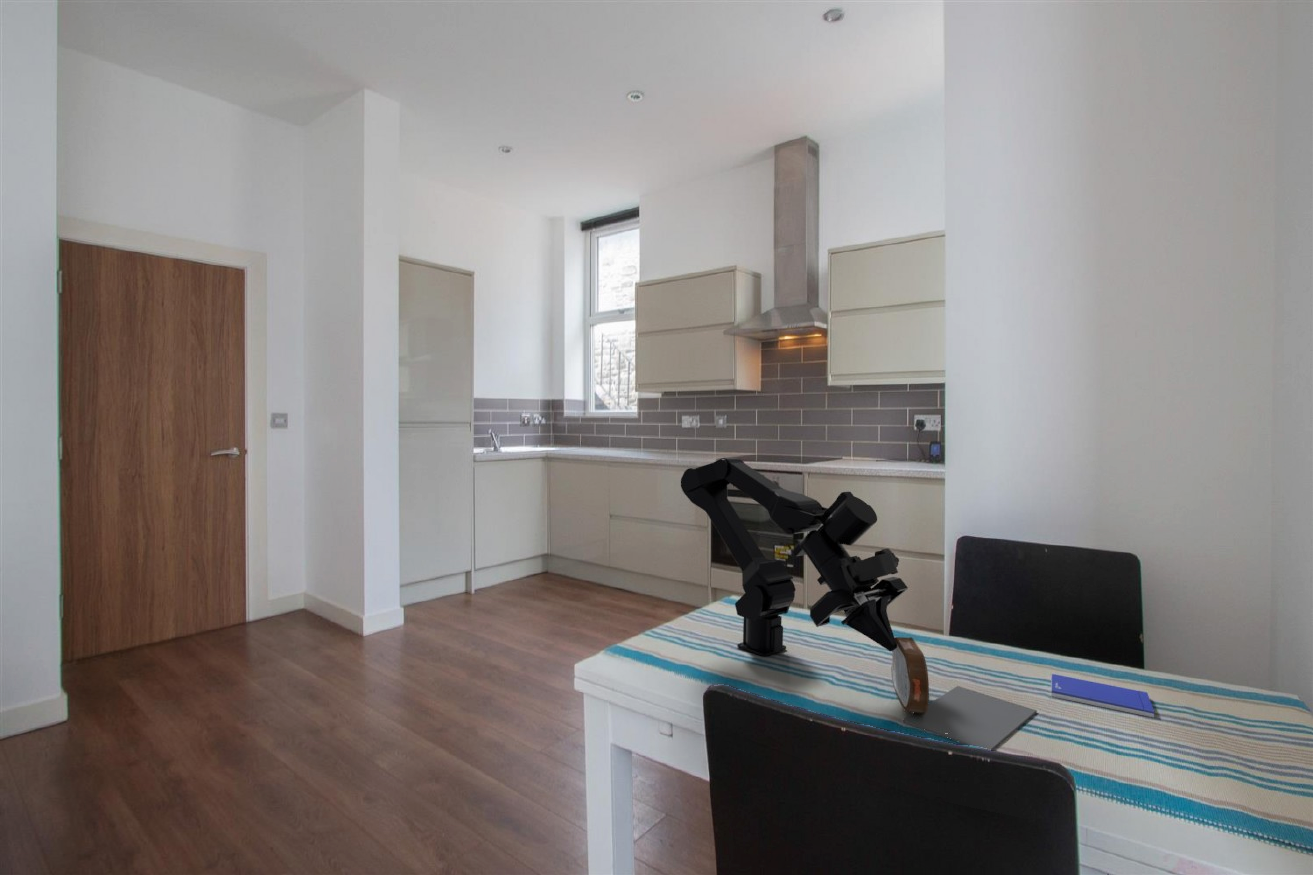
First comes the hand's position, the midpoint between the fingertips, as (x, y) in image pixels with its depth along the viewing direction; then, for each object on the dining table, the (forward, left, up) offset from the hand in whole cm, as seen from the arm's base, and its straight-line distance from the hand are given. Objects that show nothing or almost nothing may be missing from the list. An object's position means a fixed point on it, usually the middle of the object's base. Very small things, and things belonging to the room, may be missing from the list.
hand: (894, 649), depth 93 cm
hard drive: (+20, +26, -8) cm, 33 cm away
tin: (+2, 0, -7) cm, 8 cm away
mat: (+10, +3, -7) cm, 13 cm away
